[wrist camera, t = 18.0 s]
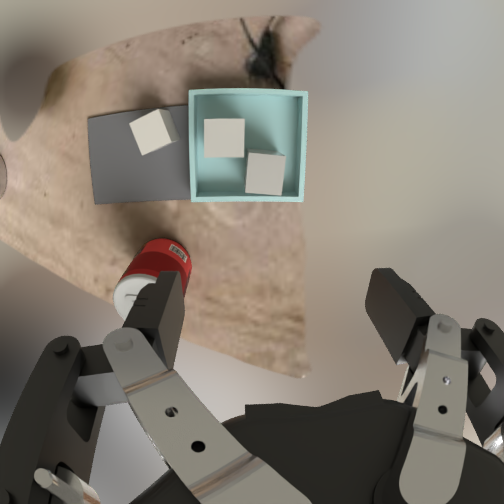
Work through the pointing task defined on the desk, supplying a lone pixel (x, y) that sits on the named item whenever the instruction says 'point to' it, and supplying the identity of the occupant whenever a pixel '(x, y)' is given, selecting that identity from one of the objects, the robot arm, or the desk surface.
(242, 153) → the stone
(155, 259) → the canned food
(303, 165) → the bin
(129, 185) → the mat
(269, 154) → the stone
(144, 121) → the stone
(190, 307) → the desk surface
